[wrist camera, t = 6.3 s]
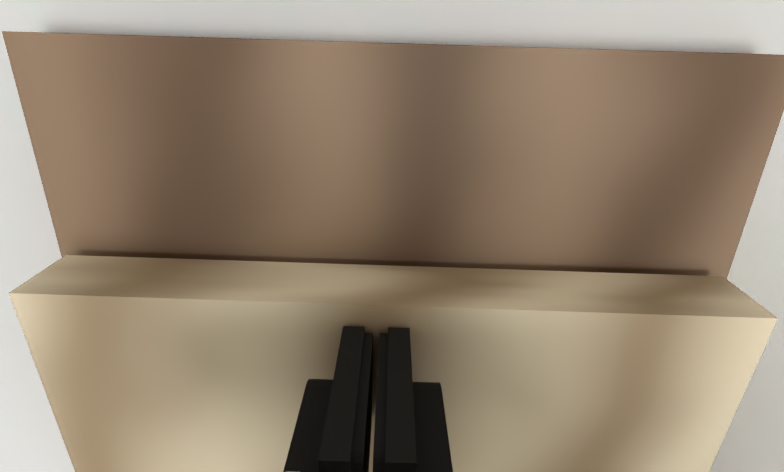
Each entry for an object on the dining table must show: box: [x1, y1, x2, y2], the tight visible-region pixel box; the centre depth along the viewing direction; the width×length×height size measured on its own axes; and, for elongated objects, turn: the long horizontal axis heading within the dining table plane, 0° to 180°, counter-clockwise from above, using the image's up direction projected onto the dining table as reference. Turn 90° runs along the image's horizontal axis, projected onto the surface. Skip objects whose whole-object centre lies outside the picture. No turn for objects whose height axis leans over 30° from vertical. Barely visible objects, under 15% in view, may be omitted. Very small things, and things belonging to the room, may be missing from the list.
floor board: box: [2, 31, 784, 279], centre depth 14 cm, size 19×21×4 cm
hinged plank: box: [9, 255, 778, 472], centre depth 13 cm, size 18×8×2 cm, turn 88°
